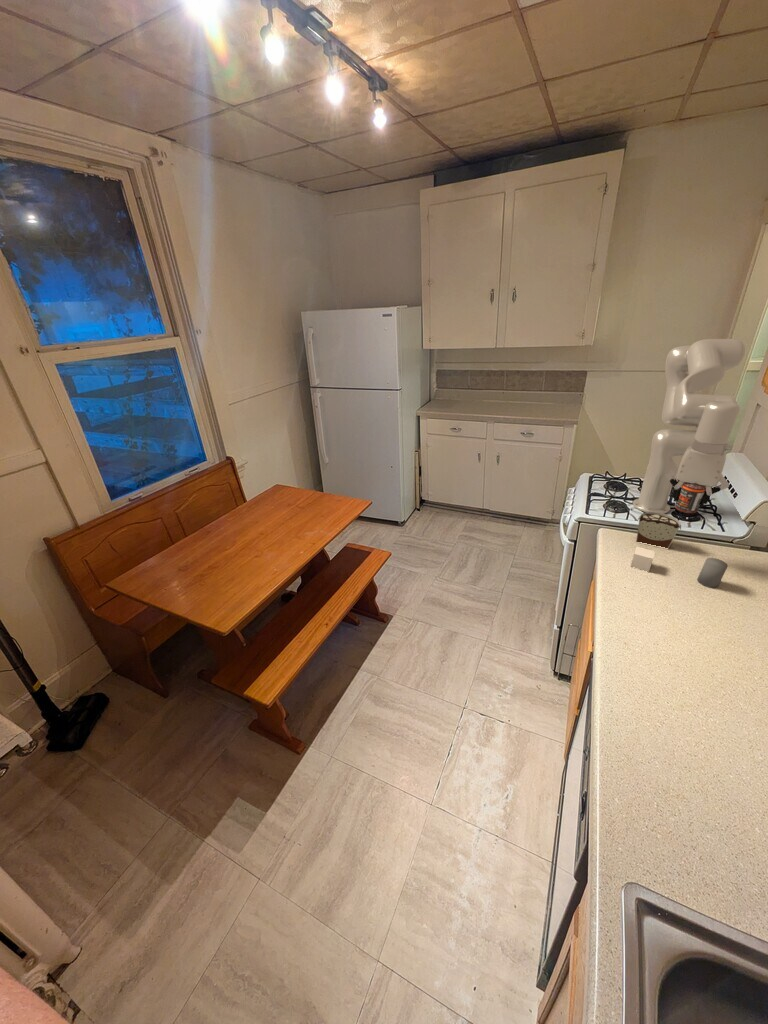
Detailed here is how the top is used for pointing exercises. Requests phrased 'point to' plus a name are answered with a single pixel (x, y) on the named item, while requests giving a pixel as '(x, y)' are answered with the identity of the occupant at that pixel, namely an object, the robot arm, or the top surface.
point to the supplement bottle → (690, 497)
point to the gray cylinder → (712, 572)
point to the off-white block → (642, 559)
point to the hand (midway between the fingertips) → (688, 501)
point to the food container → (657, 529)
